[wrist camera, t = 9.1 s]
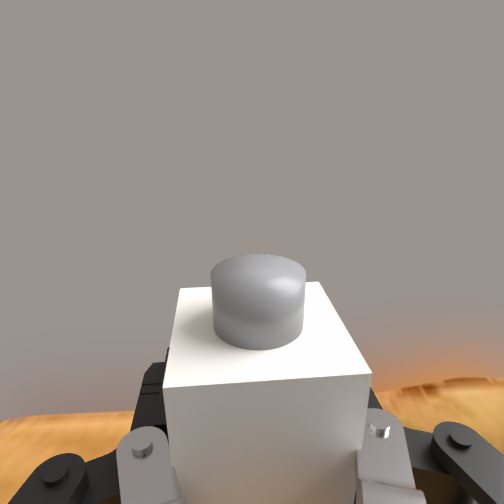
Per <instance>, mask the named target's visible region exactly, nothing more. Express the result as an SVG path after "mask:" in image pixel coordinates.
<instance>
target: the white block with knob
mask: <svg viewBox="0 0 504 504" xmlns="http://www.w3.org/2000/svg"><path fill="white" fill-rule="evenodd" d="M371 378H372V372H371V370H370V369H369V367H368V365H367V363H366V362H365V360H364V358H363V357H362V355H361V353H360V352H359V350H358V348H357V346H356V345H355V343H354V341H353V340H352V338H351V336H350V335H349V333H348V331H347V329H346V328H345V326H344V324H343V323H342V321H341V319H340V317H339V316H338V314H337V312H336V311H335V309H334V307H333V306H332V304H331V302H330V300H329V299H328V297H327V296H326V294H325V292H324V290H323V289H322V287H321V285H320V283H319V282H306V272H305V270H304V268H303V267H302V266H301V265H300V264H298V263H297V262H295V261H293V260H290V259H287V258H284V257H280V256H275V255H266V254H251V255H242V256H236V257H232V258H229V259H226V260H224V261H222V262H220V263H218V264H217V265H216V266H215V267H214V268H213V269H212V271H211V287H199V288H180V293H179V299H178V304H177V309H176V315H175V321H174V326H173V332H172V338H171V343H170V349H169V354H168V360H167V365H166V371H165V377H164V382H163V397H164V405H165V414H166V422H167V430H168V439H169V447H170V456H171V464H172V466H174V468H175V471H176V475H177V479H178V483H179V487H180V491H181V494H182V496H184V498H185V501H186V504H354V498H355V491H356V475H355V459H356V452H357V450H359V449H362V442H363V435H364V428H365V421H366V414H367V407H368V400H369V393H370V386H371Z"/></svg>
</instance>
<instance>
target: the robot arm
mask: <svg viewBox="0 0 504 504" xmlns="http://www.w3.org/2000/svg"><path fill="white" fill-rule="evenodd" d="M169 349H170V347H169V348H168V349H167V354H166V360H165V362H158V363H153V364H152V365H151V366H150V367H149V368H148V370H147V371H146V372H145V374H144V378H143V382H142V387H141V390H140V396H139V398H138V402H137V406H136V410H135V414H134V418H133V422H132V426H131V430H130V432H129V433H128V434H127V435H125V436H124V437H123V438H122V440H121V441H120V443H119V444H118V447H117V449H115V450H114V451H112V452H111V453H109V454H107V455H104V456H102V457H99V458H96V459H93V460H91V461H88V462H84V460H83V459H82V458H81V457H80V456H79V455H77V454H72V453H64V454H60V455H56V456H54V457H52V458H50V459H48V460H46V461H45V462H43V463H42V464H40V465H39V466H38V467H37V468H36V469H35V470H34V471H33V473H32V474H31V475H30V476H29V478H28V479H27V480H26V481H25V483H24V484H23V485H22V486H21V488H20V489H19V490H18V491H17V493H16V494H15V495H14V496H13V498H12V499H11V500H10V501H9V503H8V504H186V501H185V498H184V496H182V494H181V491H180V487H179V483H178V479H177V475H176V471H175V468H174V466H172V464H171V456H170V447H169V439H168V430H167V422H166V414H165V405H164V397H163V382H164V377H165V371H166V365H167V360H168V354H169ZM355 475H356V491H355V498H354V504H504V455H502V454H501V453H500V452H499V451H498V450H497V449H495V448H494V447H493V446H492V445H491V444H490V443H488V442H487V441H486V440H485V439H484V438H483V437H481V436H480V435H479V434H478V433H477V432H475V431H474V430H472V429H471V428H469V427H467V426H465V425H463V424H460V423H456V422H442V423H440V424H438V425H437V426H436V427H435V428H434V432H433V433H429V432H424V431H418V430H413V429H409V428H406V427H403V426H402V424H401V422H400V421H399V420H398V419H397V418H396V417H395V416H394V415H392V414H391V413H389V412H387V411H385V410H383V409H382V407H381V405H380V403H379V401H378V400H377V398H376V396H375V394H374V392H373V391H372V389H371V387H370V393H369V400H368V407H367V414H366V421H365V428H364V435H363V442H362V449H359V450H357V452H356V459H355Z"/></svg>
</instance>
